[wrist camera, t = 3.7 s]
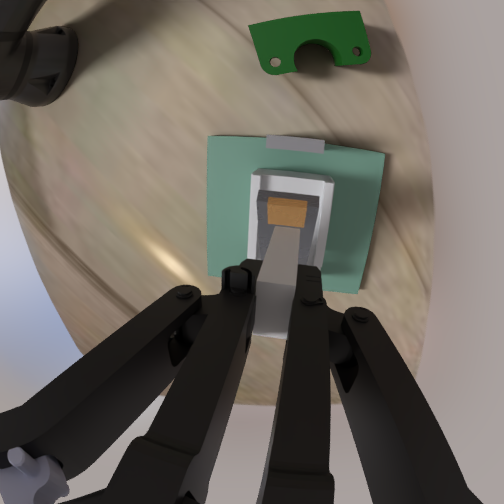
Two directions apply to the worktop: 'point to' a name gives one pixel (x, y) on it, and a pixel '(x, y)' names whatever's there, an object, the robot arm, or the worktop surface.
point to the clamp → (311, 39)
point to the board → (343, 210)
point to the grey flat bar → (287, 218)
